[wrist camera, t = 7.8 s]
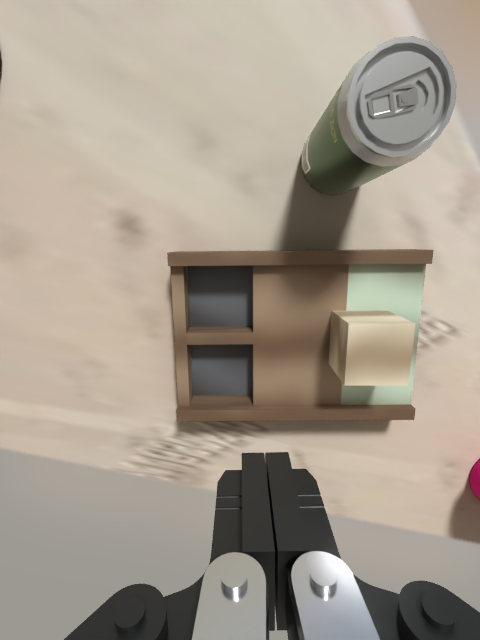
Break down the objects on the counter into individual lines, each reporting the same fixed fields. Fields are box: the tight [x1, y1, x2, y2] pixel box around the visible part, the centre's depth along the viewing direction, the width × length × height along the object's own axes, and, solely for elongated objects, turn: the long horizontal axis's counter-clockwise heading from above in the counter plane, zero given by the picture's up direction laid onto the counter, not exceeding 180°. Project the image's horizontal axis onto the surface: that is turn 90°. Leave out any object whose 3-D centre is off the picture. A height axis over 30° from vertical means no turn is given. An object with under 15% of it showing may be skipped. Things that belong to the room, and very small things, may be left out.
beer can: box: [301, 36, 456, 195], centre depth 21 cm, size 5×5×12 cm
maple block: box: [328, 311, 415, 386], centre depth 26 cm, size 4×4×4 cm
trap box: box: [167, 249, 433, 421], centre depth 29 cm, size 14×20×3 cm
